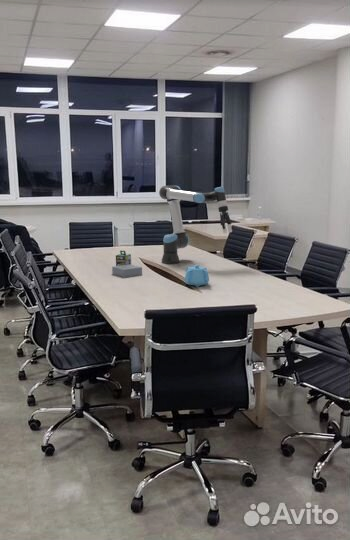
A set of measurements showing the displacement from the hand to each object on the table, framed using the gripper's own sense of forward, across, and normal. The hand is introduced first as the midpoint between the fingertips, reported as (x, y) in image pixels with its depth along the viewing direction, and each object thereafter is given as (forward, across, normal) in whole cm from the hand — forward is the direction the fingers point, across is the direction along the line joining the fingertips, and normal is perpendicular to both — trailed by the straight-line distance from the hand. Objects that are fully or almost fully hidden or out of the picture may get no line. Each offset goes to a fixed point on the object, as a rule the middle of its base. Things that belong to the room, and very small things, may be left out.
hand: (227, 232), depth 393 cm
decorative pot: (+32, -71, +6) cm, 78 cm away
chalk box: (+12, -42, +76) cm, 88 cm away
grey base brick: (+16, -60, +64) cm, 89 cm away
